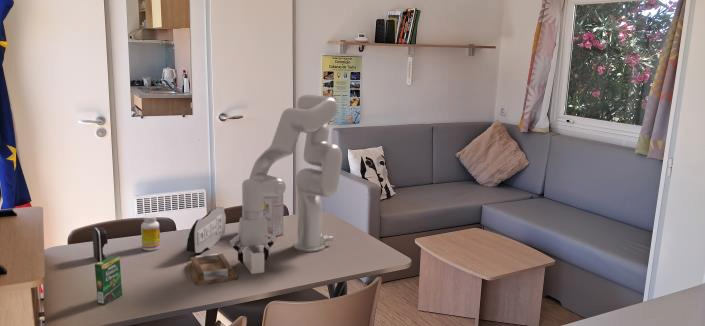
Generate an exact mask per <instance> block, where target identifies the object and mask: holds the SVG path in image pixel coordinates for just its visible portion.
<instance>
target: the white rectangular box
mask: <svg viewBox="0 0 705 326" xmlns="http://www.w3.org/2000/svg"><path fill="white" fill-rule="evenodd" d="M242 252H243V263H244V264H245V266H246V268H247V269H248V271H249V272H250V274H251V275H253V274H260V273H261V274H262V273H265V259H264V253H263V249H261V247H260V246H259V245H256V246H247V247H245V248H244V249H243V251H242Z"/></svg>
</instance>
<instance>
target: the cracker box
mask: <svg viewBox="0 0 705 326" xmlns="http://www.w3.org/2000/svg"><path fill="white" fill-rule="evenodd" d="M264 209H266V210H268V213H266V214H265V217H266V221H267V228H268V232H269V233H271V234H273V235H275V236H276V237H280V236H283V235H284V193H283V194H282V195H281V196H280V197H277V198H266V199H264Z"/></svg>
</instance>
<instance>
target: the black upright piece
mask: <svg viewBox="0 0 705 326" xmlns="http://www.w3.org/2000/svg"><path fill="white" fill-rule="evenodd" d="M91 232H92V233H91V234H92V236H91V237H92V246H93V247H92V248H93V257H94V258H95V259H96V261H98V262H101V261H103V260H105V259H107V258H108V257H107V256H106V255H105V254H104V247H105V245H108V243H109V242H108V233H107V231H106V229H105V228H104V227H101V226H100V227H93V228H92V229H91Z"/></svg>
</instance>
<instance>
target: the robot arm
mask: <svg viewBox="0 0 705 326" xmlns="http://www.w3.org/2000/svg"><path fill="white" fill-rule="evenodd" d="M338 109H339V105H338V102H337V101H336V100H335V98H333V97H331V96H326V95H325V96H323V95H316V94H303V95H301V96H300V97H299V98H298V99H297V108H296V107H289V108H286V109H285V110H283V112H282V113H281V116H280V119H279V121H278V124H277V127H276V130H275V133H274V135H273V139H272V141H271V144H270V145H269V147H268V148H267V149H266V150H264V151H263V153H261V155H259V157H258V158H257V159H256V160H255V162H254V164H253V167H252V169H251V172H250V175H249V178H248V179H245V180H243V181H242V183H241V186H242V187H241V191H242V192H241V193H242V194H241V200H242V201H241V203H242V204H241V206H242V211H241V212H242V215H241V216H240V218H239V222H238V228H237V229H238V230H237V235H236V236H234V237H233V238H231V239H230V240H229V244H230V245H231V247H232V248H233V249H234V250H235V251H236V252H237V260H238V261H237V262H239V263H240V264H241V265H242V264H243V263H244V262H243V249H244V248H245V247H247V246H256V245H258V246H264V247H263V249H262V251H263V253H264V261H268V258H269V256H270V250H271V247H273V245H274V244H275V242H276V240H277V239H278V238H277V237H278V236H275V235H273V234H271V233H269V232H268V228H267V221H266V217H265V214H266V213H268V210H266V209H264V199H266V198H277V197H280V196H281V195H282V194H283V195H284V194H285V192H286V182H285V181H284V180H283V179H282V178H279V177H276V176H273V175H268V172H269V171H270V169H271V167H272V166H273V164H275V163H276V162H278V161H280V160H281V159H284V158H287V157H289V156H291V155H293V153H294V151H295V149H296V146H297V142H298V140H299V137H300V134H301V133H305V134H306V135H305V140H304V141H305V142H304V148H303V161H304V162H305V163H306V164H308V165H311V166H315V167H319V168H321V170H320V169H316V168H311V167H310V168H309V167H307V168H302V169H300V170H299V171H298V172H297V174H296V176H295V180H294V181H295V188H296V193H297V240H296V241H294V242H293V248H294V249H295V250H297V251H300V252H306V253H308V252H309V253H313V252H318V251H323V250H324V249H325V248H326V242H331V241H334V237H333V235H328V234H325V235H324V234H323V233H322V232H323V230H322V229H323V228H322V227H323V201H322V197H324V198H331V197H333V196H334V195H335V194H336V192H337V190H338V188H339V184H340V183H339V182H340V177H341V170H342V164H343V152H342V150H341V148H340V147H339V146H338V145H336V144H334V143H329V135H330V134H329V133H330V128H329V122H330V121H332V120H333V119H334V118H335V116H336V115H337V114H338V111H339V110H338ZM269 238H270V240H269ZM237 242H238V243H239V245H237V244H236V243H237Z"/></svg>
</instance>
